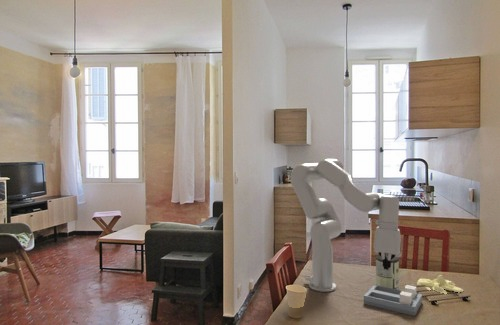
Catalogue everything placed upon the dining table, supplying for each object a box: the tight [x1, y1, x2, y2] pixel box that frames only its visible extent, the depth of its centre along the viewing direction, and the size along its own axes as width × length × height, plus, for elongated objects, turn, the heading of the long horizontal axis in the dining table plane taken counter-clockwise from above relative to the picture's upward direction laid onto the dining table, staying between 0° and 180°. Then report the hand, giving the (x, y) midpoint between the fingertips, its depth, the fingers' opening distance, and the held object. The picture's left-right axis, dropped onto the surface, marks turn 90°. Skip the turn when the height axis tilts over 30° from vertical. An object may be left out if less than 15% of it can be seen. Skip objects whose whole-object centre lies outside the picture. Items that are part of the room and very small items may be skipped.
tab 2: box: [399, 290, 412, 306], centre depth 145 cm, size 4×4×5 cm
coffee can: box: [375, 253, 400, 290], centre depth 171 cm, size 10×10×14 cm
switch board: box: [363, 284, 423, 317], centre depth 152 cm, size 20×15×4 cm
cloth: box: [416, 274, 465, 295], centre depth 170 cm, size 22×19×6 cm
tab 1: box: [403, 284, 418, 298], centre depth 152 cm, size 4×4×5 cm
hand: (386, 268), depth 150 cm, fingers closed
